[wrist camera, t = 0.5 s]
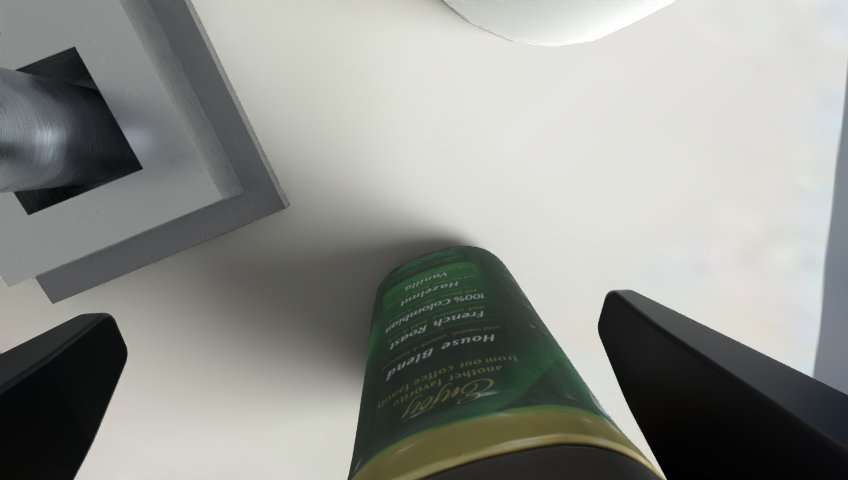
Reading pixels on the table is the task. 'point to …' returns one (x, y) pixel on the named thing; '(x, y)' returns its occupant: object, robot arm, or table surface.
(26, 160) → the metal rod
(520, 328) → the coffee jar
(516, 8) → the stepped white column
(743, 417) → the robot arm
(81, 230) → the socket stand
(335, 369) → the table surface
